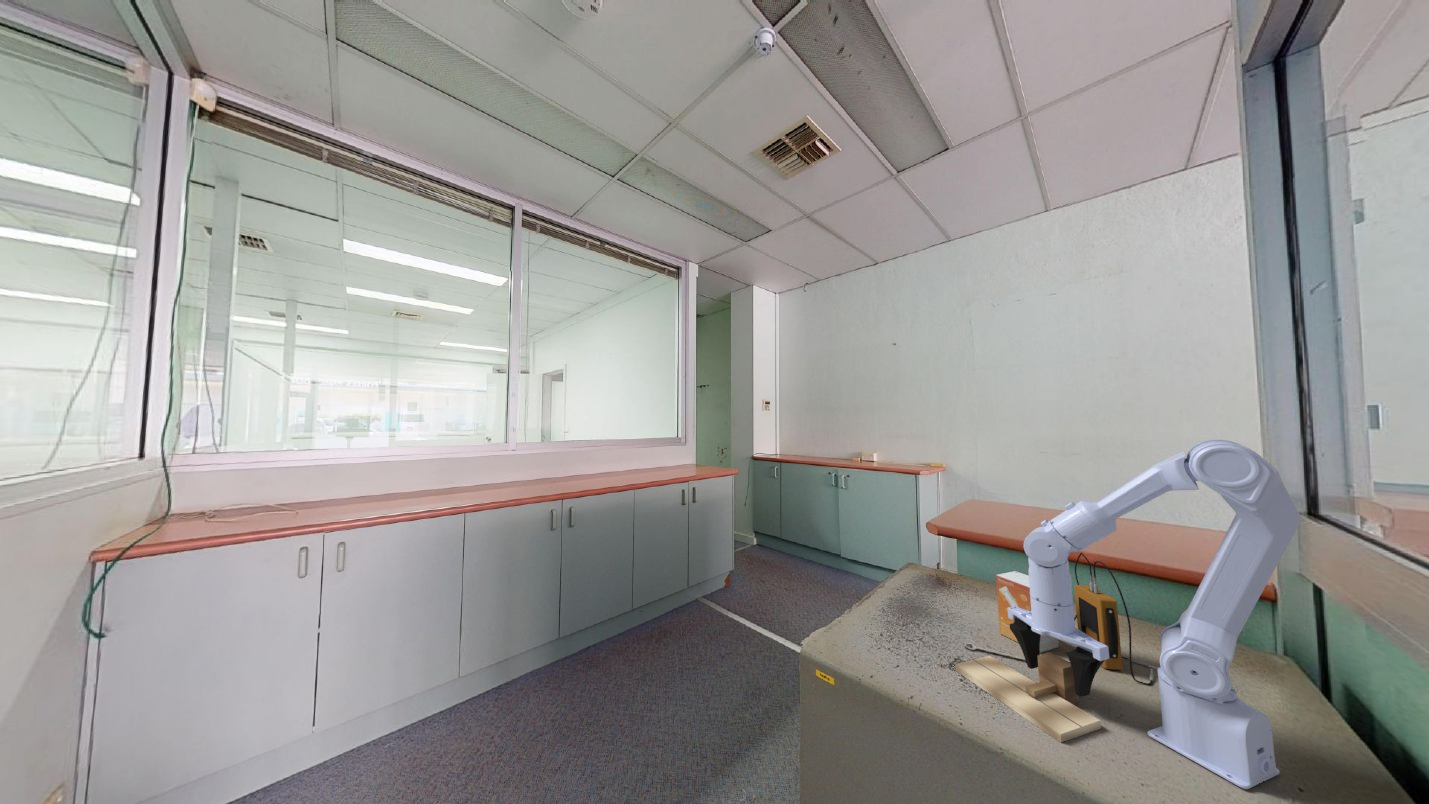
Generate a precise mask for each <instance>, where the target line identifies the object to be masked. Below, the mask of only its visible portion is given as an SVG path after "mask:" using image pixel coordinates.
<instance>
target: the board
mask: <svg viewBox="0 0 1429 804" xmlns="http://www.w3.org/2000/svg"><path fill="white" fill-rule="evenodd" d="M954 668H955V672H957V673H959V674H960V675H962V677H964V678H966V679H967V680H969V681H970V682H971V683H973V684H974V685H976V686H978V687H979V688H980V689H982V690H984V692H986V693H987V694H989V695H991V696H992V697H994V698H995V699H996V700H998V701H999V702H1001V703H1002V704H1004V705H1006V706H1007V708H1010V709H1011V710H1012V711H1014V712H1015V713H1017V714H1019V715H1020V716H1021V717H1023V718H1024V719H1025V720H1027V721H1029V722H1030V723H1031V724H1033V725H1035V726H1036V727H1037V728H1039V729H1040V730H1042V731H1043V732H1044V733H1046V734H1048V736H1051V737H1052V738H1054V739H1055V740H1056V741H1058V742H1059V743H1061V742H1062V743H1064V741H1065V742H1067V741H1070V740H1073V739H1075V738H1079V737H1081V736H1083V735H1084V736H1085V735H1087V734H1090V733H1092V732H1096V731H1098V730H1101V729H1102V727H1101V726H1102V725H1101V719H1099V718H1097V717H1095V716H1094V715H1092V714H1090V713H1088V712H1086V711H1085V710H1083V709H1082V708H1080V707H1078V706H1076V705H1075V704H1071V703H1070V702H1068V701H1066V700H1064V699H1063V698H1061V697H1059V696H1058V695H1056V694H1054V693H1049V694H1046V695H1042V696H1039V697H1036V698H1034V697H1032V696H1031V695H1029V694H1028V693H1026V687H1025V686H1028V685H1031V684H1035V683H1036V682H1035V681H1034V680H1032V679H1030V678H1028V677H1026V676H1025V675H1023V674H1022V673H1020V672H1018V671H1017V670H1015V669H1013V668H1011V667H1010V666H1008V665H1006V664H1004V663H1003V662H1001V661H1000V660H998V659H996V658H994V657H993V656H991V655H987V656H983V657H977V658H975V659H974V658H973V659H971V660H966V661H962V662H959V663H956V664H955V666H954Z"/></svg>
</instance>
